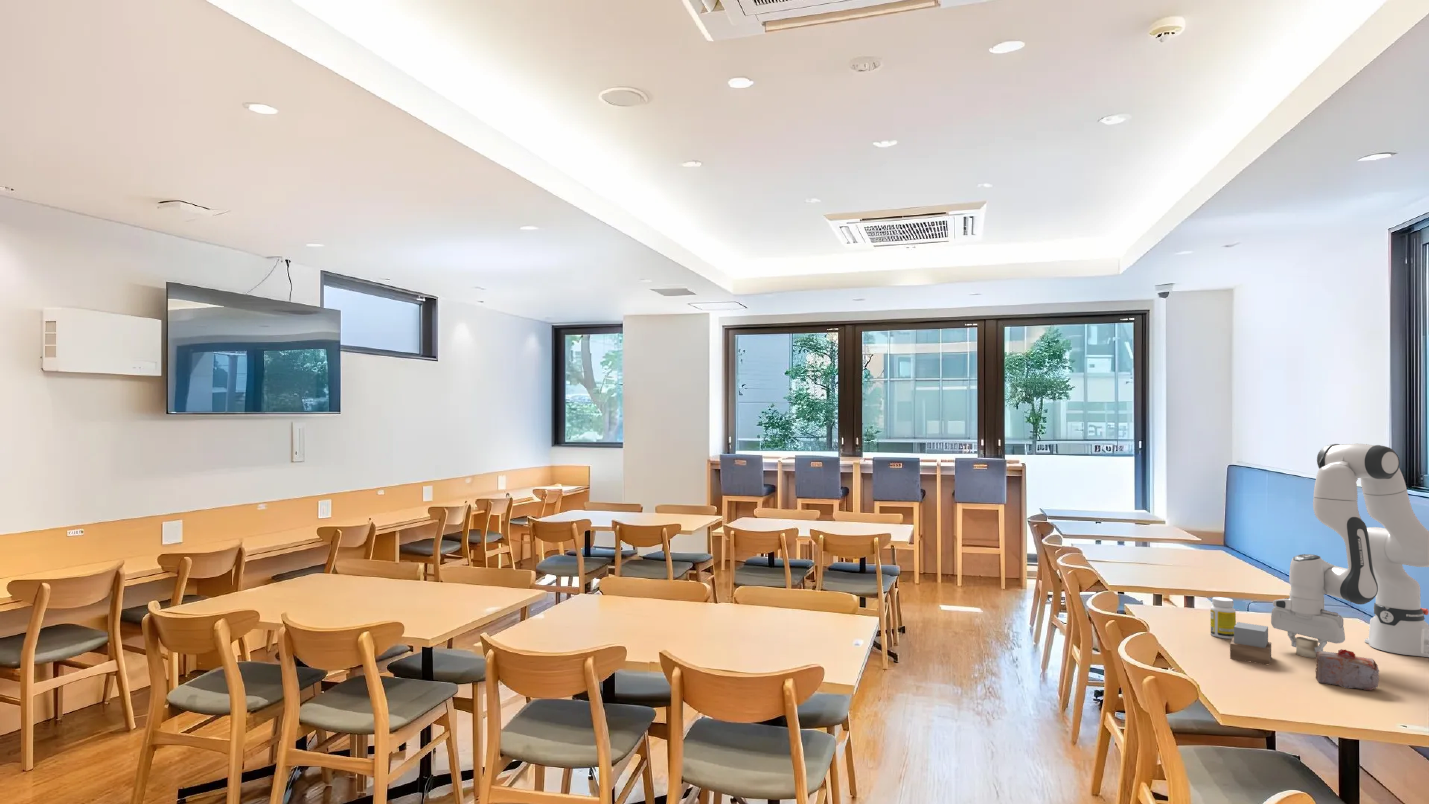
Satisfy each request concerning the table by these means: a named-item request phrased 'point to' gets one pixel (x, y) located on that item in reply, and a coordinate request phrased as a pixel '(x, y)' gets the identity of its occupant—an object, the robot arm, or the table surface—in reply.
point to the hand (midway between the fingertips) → (1307, 650)
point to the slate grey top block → (1251, 634)
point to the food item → (1346, 670)
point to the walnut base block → (1250, 653)
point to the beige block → (1306, 646)
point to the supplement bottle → (1222, 618)
